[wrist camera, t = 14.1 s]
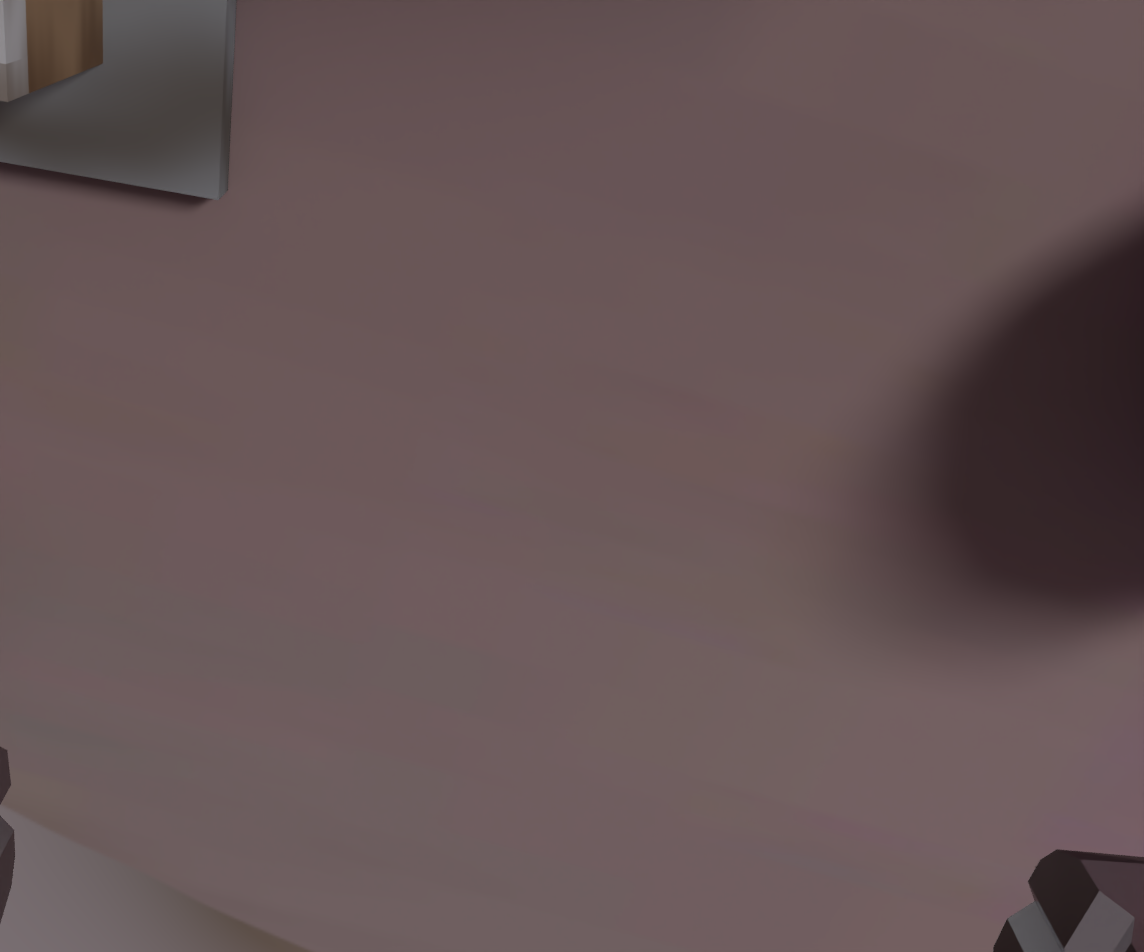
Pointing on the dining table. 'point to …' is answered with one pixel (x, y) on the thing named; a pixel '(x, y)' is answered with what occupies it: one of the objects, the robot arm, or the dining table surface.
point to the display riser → (120, 90)
